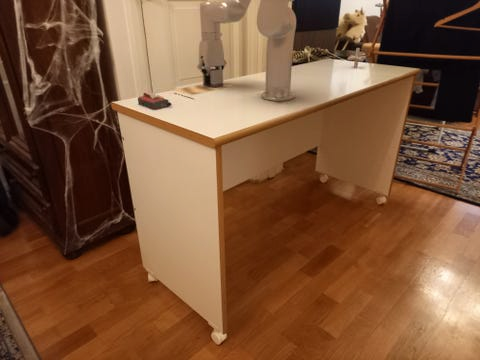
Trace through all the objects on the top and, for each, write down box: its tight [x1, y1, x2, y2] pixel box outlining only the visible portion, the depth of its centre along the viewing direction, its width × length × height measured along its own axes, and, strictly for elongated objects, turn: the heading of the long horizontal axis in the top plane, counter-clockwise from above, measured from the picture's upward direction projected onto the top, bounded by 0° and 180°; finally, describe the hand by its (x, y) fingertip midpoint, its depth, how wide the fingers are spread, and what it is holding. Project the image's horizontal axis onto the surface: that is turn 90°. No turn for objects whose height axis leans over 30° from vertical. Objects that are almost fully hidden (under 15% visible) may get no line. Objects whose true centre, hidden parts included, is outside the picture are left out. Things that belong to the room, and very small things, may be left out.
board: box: [173, 82, 234, 100], centre depth 144 cm, size 22×12×2 cm, turn 134°
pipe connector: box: [347, 47, 367, 69], centre depth 187 cm, size 10×10×10 cm
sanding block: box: [202, 67, 224, 88], centre depth 145 cm, size 5×7×6 cm
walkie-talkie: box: [137, 91, 172, 111], centre depth 128 cm, size 9×4×20 cm
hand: (213, 83), depth 146 cm, fingers closed on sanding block, 5 cm apart
